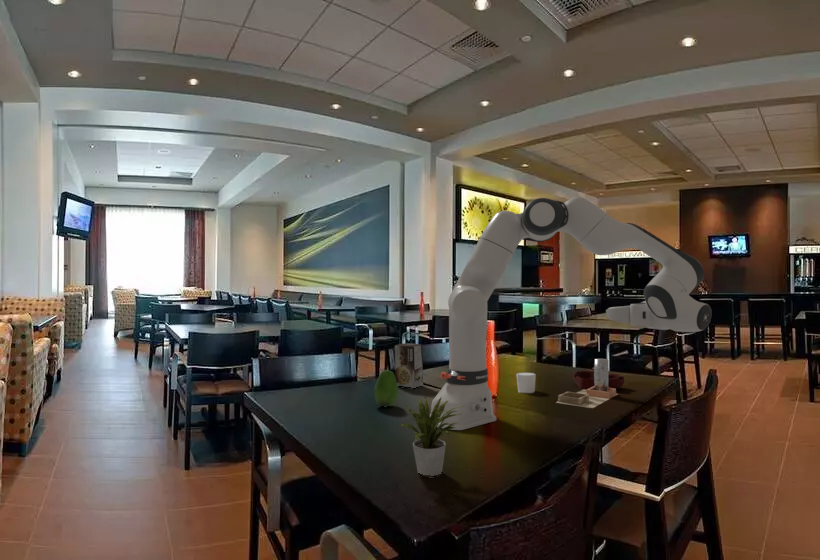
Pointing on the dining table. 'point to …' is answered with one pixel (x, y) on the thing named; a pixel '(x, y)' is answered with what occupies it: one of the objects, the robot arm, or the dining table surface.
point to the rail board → (581, 399)
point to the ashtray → (587, 380)
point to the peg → (601, 375)
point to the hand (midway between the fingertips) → (618, 311)
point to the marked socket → (601, 393)
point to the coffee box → (409, 365)
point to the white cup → (526, 382)
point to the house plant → (430, 437)
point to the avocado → (386, 389)
